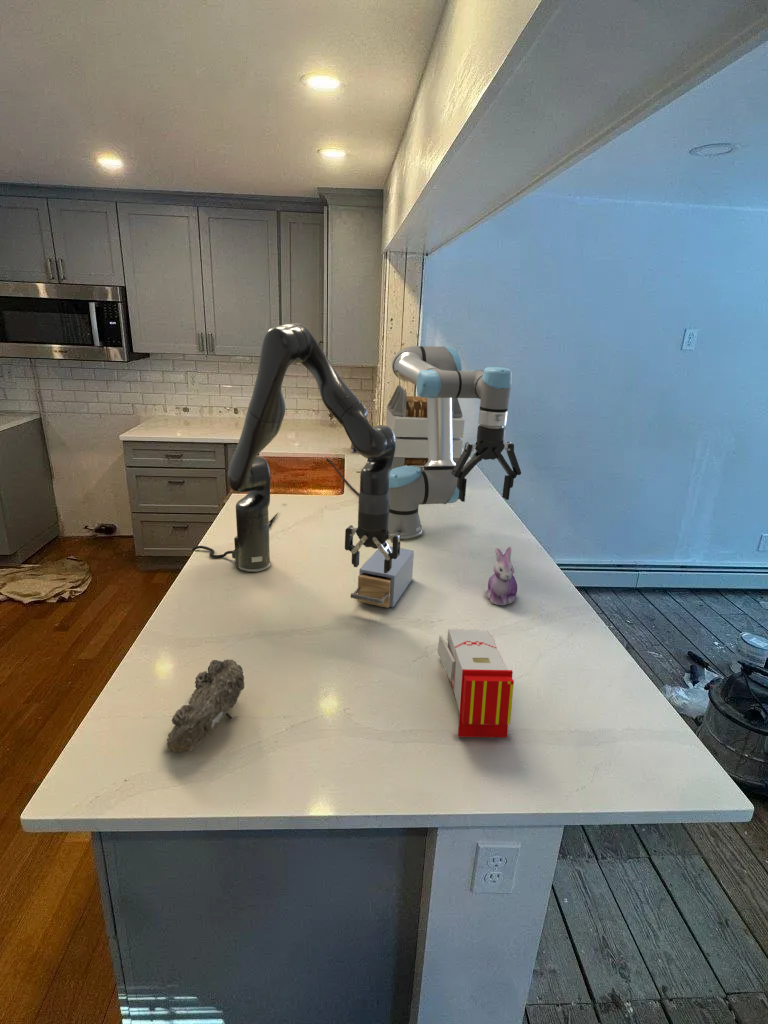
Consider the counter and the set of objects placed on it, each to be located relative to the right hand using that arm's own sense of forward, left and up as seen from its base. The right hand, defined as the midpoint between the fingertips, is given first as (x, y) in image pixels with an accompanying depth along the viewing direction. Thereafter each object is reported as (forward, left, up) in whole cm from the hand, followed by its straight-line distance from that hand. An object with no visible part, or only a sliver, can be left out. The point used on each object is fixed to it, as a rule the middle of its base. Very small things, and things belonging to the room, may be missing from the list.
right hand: (483, 499), depth 162 cm
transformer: (-91, +65, -24) cm, 114 cm away
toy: (+36, -43, -24) cm, 61 cm away
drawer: (-7, -32, -23) cm, 40 cm away
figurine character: (-142, +66, -24) cm, 159 cm away
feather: (-77, -23, -24) cm, 84 cm away
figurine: (+14, -5, -24) cm, 29 cm away
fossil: (+10, -88, -24) cm, 92 cm away
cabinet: (-9, -27, -24) cm, 38 cm away
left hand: (-2, -39, -12) cm, 41 cm away
